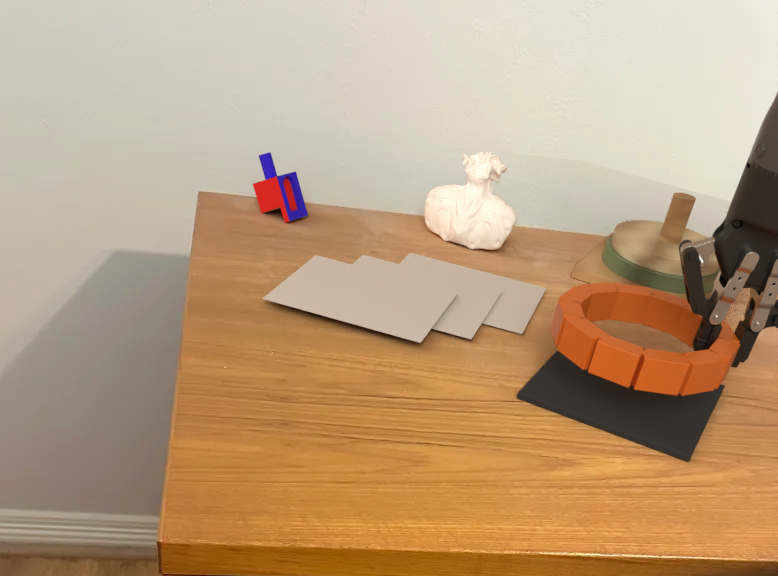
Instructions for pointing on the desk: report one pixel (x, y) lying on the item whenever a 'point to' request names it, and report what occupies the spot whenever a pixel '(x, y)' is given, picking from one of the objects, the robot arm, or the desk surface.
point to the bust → (472, 206)
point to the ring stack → (648, 253)
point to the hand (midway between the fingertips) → (715, 360)
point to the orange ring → (630, 360)
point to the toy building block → (279, 191)
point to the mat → (622, 407)
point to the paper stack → (409, 296)
